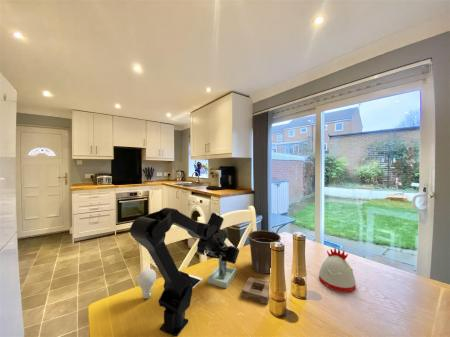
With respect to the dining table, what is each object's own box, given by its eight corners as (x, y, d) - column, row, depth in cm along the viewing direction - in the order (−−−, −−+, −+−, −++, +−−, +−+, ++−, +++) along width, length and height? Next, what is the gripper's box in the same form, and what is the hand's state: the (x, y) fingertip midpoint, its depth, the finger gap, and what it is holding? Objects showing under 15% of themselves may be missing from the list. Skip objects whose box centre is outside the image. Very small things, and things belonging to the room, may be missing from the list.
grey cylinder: (227, 276, 86) (227, 249, 86) (218, 277, 85) (219, 250, 85) (226, 272, 89) (226, 246, 89) (218, 272, 89) (218, 246, 89)
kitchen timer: (354, 296, 76) (354, 258, 76) (316, 283, 84) (316, 249, 84) (356, 280, 87) (356, 246, 87) (322, 269, 95) (323, 239, 95)
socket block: (267, 304, 71) (267, 297, 71) (241, 296, 75) (241, 290, 75) (272, 288, 80) (272, 282, 80) (249, 282, 84) (249, 276, 84)
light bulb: (150, 290, 79) (150, 263, 79) (159, 297, 75) (159, 269, 75) (134, 298, 74) (134, 270, 74) (142, 306, 70) (143, 276, 69)
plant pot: (275, 280, 86) (275, 244, 86) (242, 270, 94) (242, 237, 94) (284, 264, 100) (284, 233, 100) (254, 257, 108) (254, 228, 108)
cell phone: (163, 295, 76) (163, 294, 76) (189, 275, 90) (189, 274, 90) (179, 302, 73) (179, 300, 73) (203, 280, 87) (203, 278, 87)
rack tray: (226, 288, 80) (226, 282, 80) (207, 283, 84) (207, 277, 84) (236, 273, 91) (236, 268, 91) (219, 269, 95) (219, 264, 95)
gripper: (237, 228, 79) (248, 246, 89) (201, 222, 89) (214, 238, 98) (228, 255, 72) (240, 271, 82) (189, 245, 82) (204, 260, 91)
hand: (224, 258), depth 89 cm, fingers open, 4 cm apart
